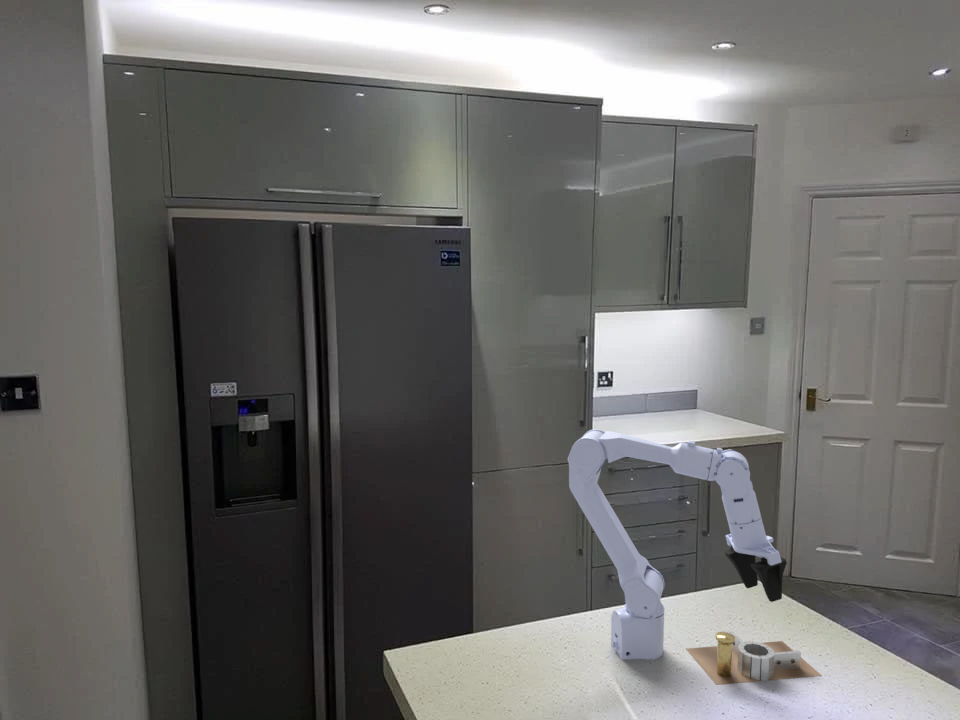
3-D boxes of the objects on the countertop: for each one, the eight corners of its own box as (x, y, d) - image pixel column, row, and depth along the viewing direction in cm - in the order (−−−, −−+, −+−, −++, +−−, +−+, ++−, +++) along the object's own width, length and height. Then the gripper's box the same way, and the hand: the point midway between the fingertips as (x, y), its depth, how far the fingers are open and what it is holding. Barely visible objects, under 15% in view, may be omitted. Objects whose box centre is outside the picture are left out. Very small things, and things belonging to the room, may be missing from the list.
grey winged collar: (748, 681, 116) (749, 660, 116) (716, 647, 127) (716, 627, 127) (809, 676, 118) (810, 655, 117) (772, 643, 129) (772, 623, 129)
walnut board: (716, 690, 115) (716, 684, 115) (685, 653, 127) (685, 648, 127) (821, 680, 118) (821, 675, 118) (781, 645, 130) (782, 641, 130)
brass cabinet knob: (720, 679, 117) (721, 641, 116) (711, 669, 120) (712, 632, 119) (736, 677, 117) (738, 640, 116) (727, 667, 120) (729, 631, 120)
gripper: (788, 520, 112) (808, 599, 111) (743, 505, 126) (760, 574, 126) (750, 532, 111) (771, 611, 110) (709, 515, 125) (727, 585, 125)
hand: (763, 592), depth 118 cm, fingers open, 7 cm apart
